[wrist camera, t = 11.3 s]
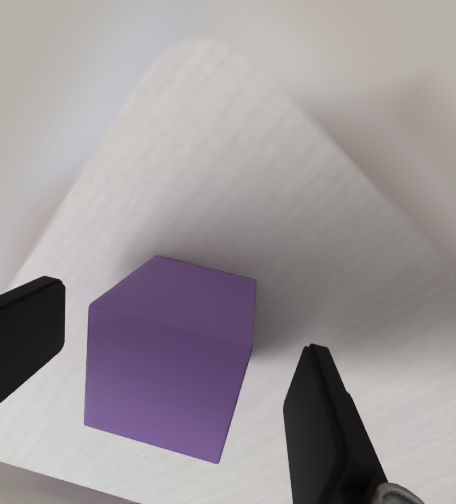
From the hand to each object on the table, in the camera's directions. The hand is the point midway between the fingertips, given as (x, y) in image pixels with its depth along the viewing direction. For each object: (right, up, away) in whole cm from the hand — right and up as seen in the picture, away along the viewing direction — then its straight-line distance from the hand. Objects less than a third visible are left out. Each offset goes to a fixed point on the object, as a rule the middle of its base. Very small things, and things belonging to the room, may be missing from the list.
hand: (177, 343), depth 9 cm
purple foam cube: (+1, +1, +2) cm, 2 cm away
